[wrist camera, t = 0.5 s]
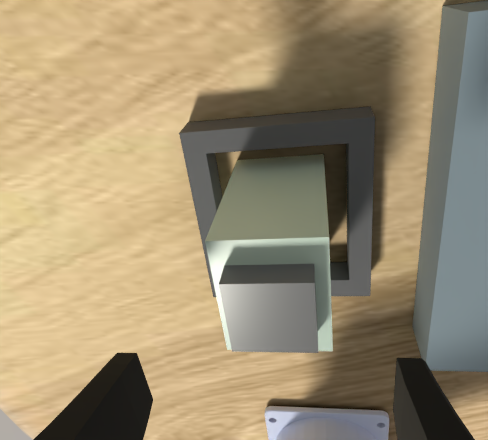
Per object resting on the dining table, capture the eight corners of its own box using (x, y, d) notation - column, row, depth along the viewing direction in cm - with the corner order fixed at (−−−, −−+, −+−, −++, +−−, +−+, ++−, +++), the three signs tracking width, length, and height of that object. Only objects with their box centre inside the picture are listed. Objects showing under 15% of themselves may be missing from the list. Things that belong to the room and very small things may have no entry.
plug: (327, 245, 21) (333, 373, 15) (250, 248, 22) (222, 370, 15) (323, 154, 19) (330, 255, 12) (237, 160, 20) (197, 258, 13)
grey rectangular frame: (366, 277, 22) (370, 295, 21) (219, 279, 23) (213, 297, 22) (370, 106, 18) (374, 116, 16) (188, 122, 19) (179, 133, 18)
